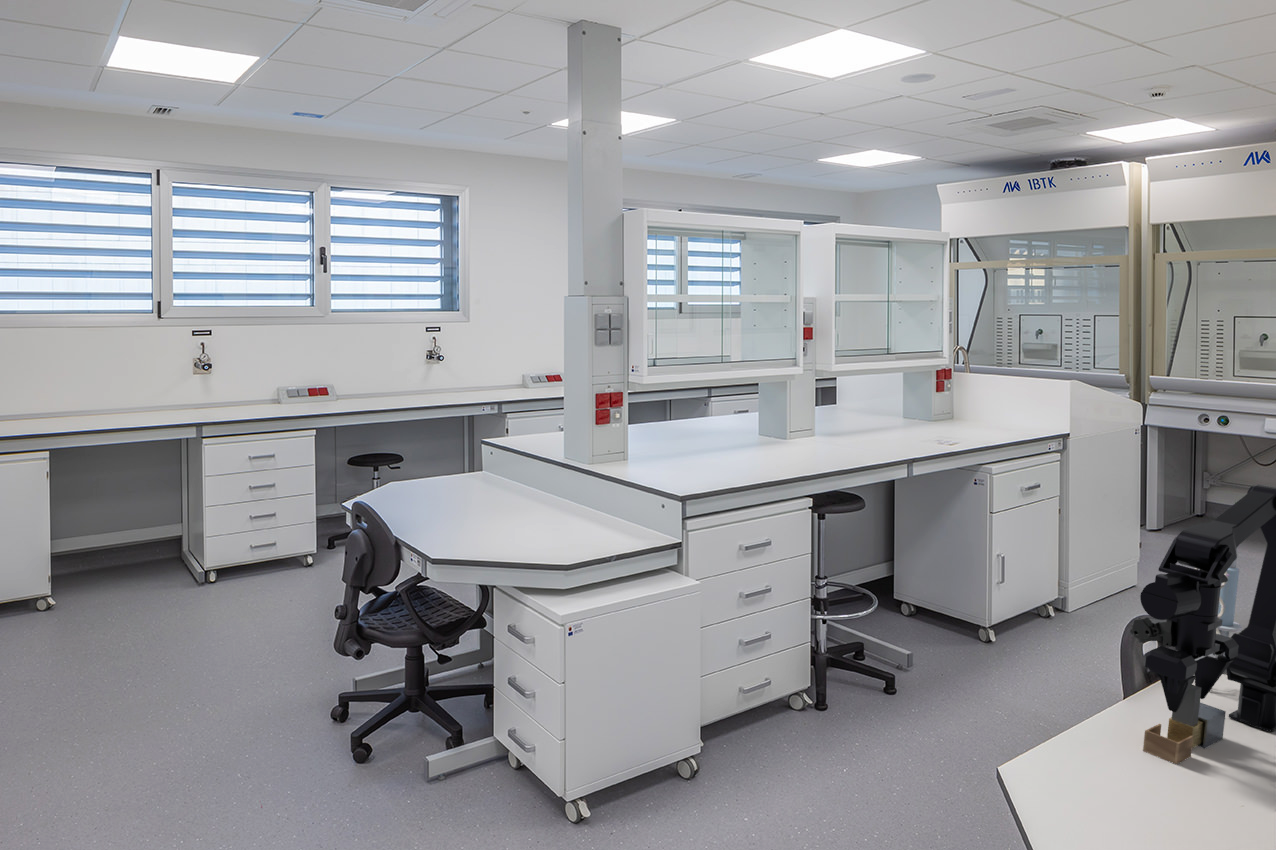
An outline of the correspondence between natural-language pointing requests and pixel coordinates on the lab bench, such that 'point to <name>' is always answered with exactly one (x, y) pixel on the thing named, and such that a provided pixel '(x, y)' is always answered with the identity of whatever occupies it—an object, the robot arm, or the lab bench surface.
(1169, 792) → the lab bench surface
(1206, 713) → the grey end cap
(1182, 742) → the socket
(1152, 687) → the lab bench surface
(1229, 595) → the pale blue cylinder
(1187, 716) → the grey and tan block
